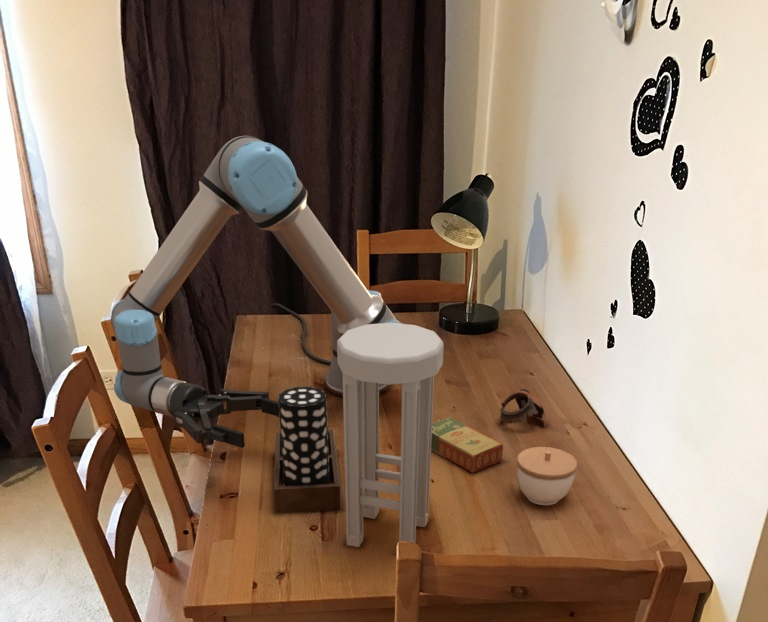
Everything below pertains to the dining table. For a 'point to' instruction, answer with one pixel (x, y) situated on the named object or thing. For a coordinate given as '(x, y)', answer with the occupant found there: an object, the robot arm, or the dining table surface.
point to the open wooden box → (307, 494)
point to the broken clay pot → (522, 407)
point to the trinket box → (545, 474)
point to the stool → (360, 404)
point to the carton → (464, 445)
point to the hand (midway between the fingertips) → (267, 426)
